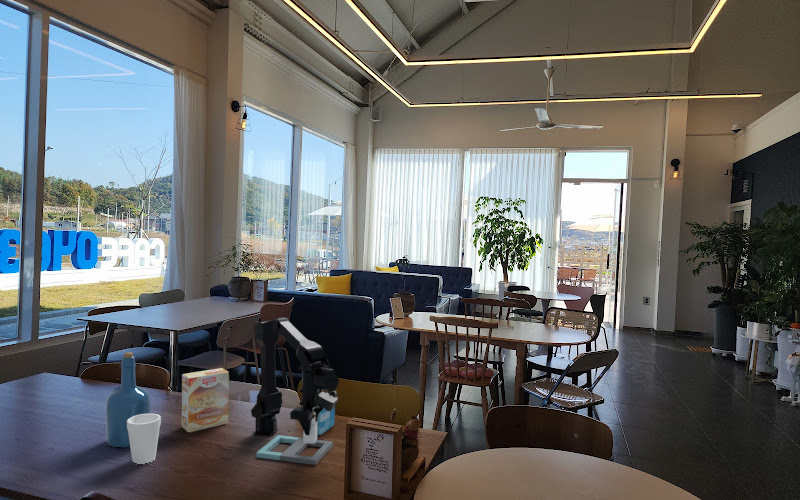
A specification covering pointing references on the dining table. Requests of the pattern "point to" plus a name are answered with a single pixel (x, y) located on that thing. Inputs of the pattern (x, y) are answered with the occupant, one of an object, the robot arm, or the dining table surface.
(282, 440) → the panel
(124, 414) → the wine bottle
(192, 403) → the coffeecake box
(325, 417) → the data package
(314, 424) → the white salt shaker
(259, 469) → the dining table surface
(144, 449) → the foam cup
